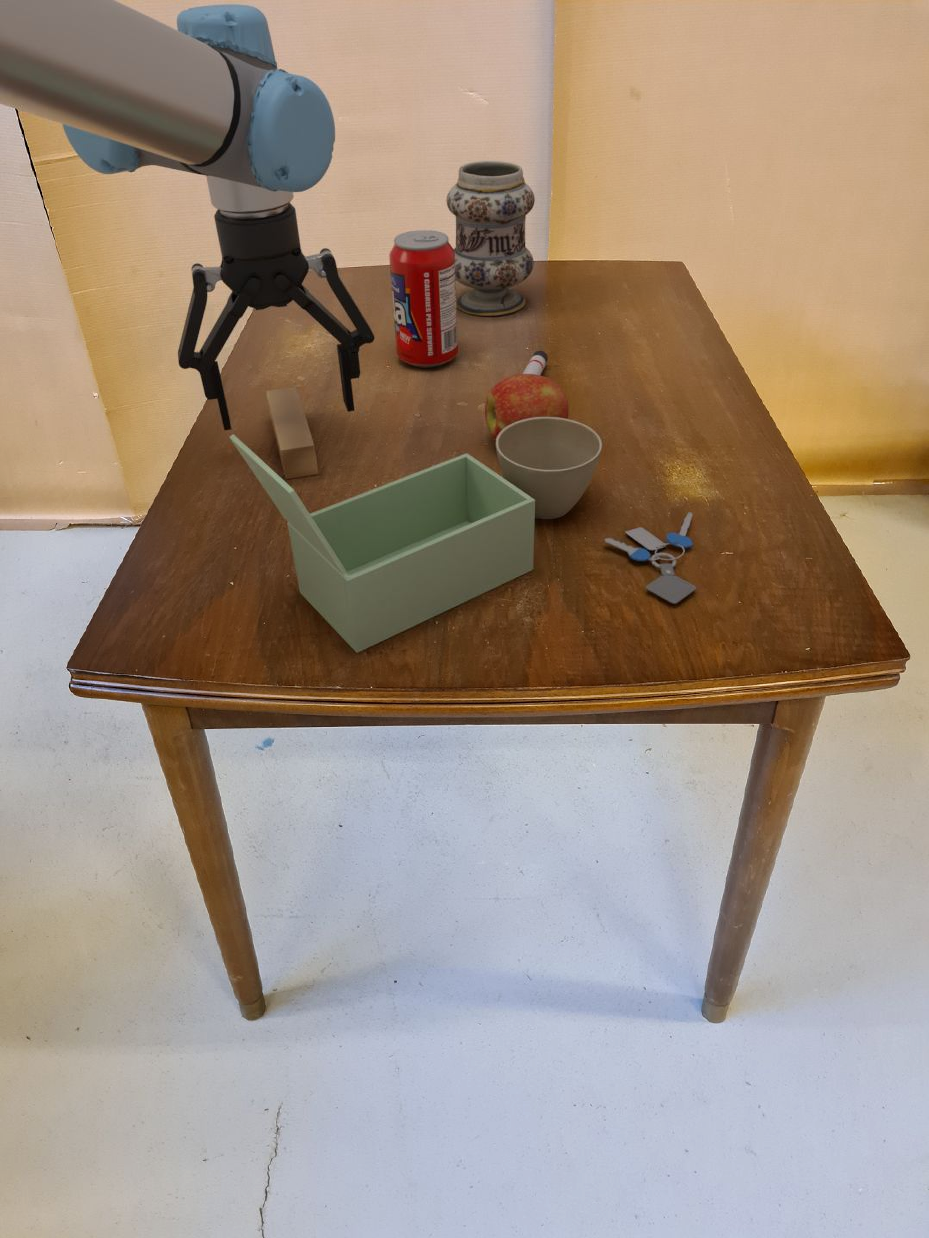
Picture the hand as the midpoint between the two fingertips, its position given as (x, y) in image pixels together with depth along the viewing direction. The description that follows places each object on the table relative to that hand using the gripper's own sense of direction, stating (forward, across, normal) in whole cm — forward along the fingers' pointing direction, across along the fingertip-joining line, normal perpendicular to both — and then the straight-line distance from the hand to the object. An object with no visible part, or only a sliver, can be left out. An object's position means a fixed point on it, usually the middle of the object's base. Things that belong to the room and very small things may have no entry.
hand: (288, 415), depth 98 cm
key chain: (+4, -28, +31) cm, 42 cm away
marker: (+4, -28, -4) cm, 29 cm away
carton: (+4, -8, +28) cm, 29 cm away
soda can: (+4, -20, -17) cm, 26 cm away
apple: (+4, -24, +8) cm, 26 cm away
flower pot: (+4, -22, +20) cm, 30 cm away
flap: (-9, +2, +32) cm, 33 cm away
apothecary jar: (+4, -32, -32) cm, 46 cm away
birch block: (+4, 0, 0) cm, 4 cm away
